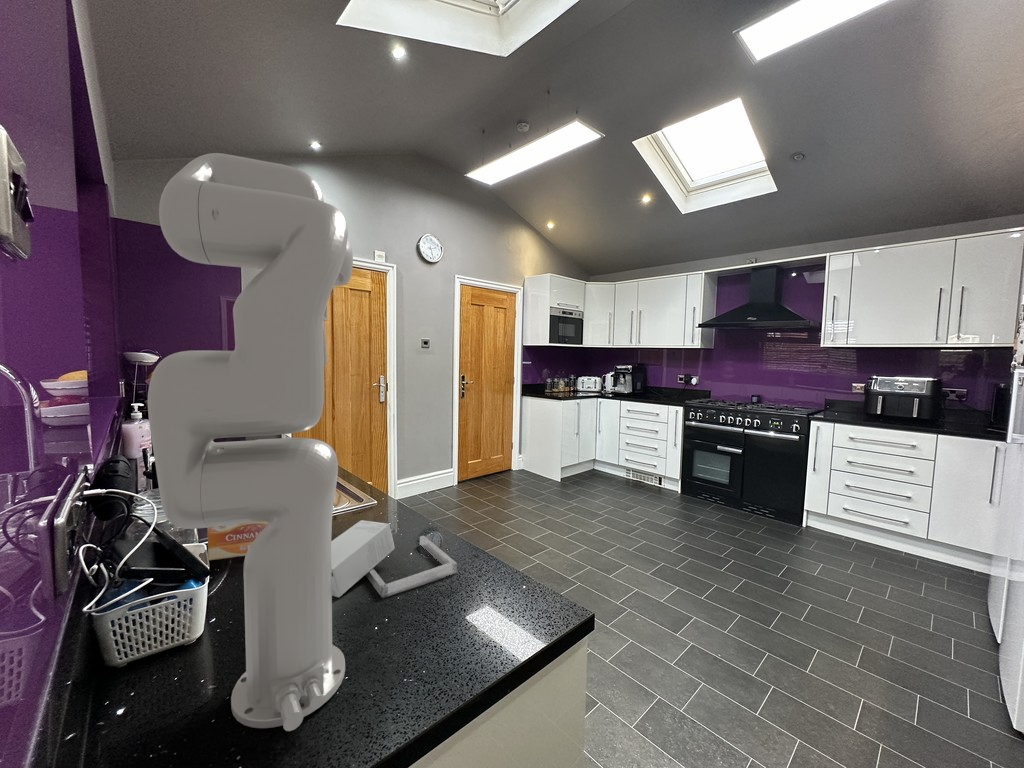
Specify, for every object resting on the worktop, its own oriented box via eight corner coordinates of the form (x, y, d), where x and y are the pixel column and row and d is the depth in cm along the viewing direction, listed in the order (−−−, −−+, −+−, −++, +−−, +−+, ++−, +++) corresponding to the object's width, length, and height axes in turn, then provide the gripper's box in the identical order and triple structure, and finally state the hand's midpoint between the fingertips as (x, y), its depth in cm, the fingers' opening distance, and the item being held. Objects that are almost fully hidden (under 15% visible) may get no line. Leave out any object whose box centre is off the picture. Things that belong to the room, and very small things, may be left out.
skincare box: (367, 542, 86) (306, 591, 73) (361, 517, 85) (298, 562, 72) (397, 548, 82) (338, 601, 69) (390, 522, 81) (329, 570, 68)
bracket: (456, 572, 79) (457, 563, 79) (382, 599, 70) (382, 588, 70) (423, 543, 91) (423, 535, 91) (356, 563, 82) (356, 554, 82)
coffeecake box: (207, 565, 80) (204, 470, 79) (216, 549, 87) (213, 461, 85) (292, 552, 86) (290, 463, 85) (295, 538, 93) (293, 455, 91)
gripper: (337, 311, 81) (337, 395, 82) (317, 316, 94) (318, 389, 95) (295, 307, 76) (296, 397, 77) (281, 314, 90) (282, 390, 91)
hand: (308, 392), depth 86 cm, fingers open, 9 cm apart
